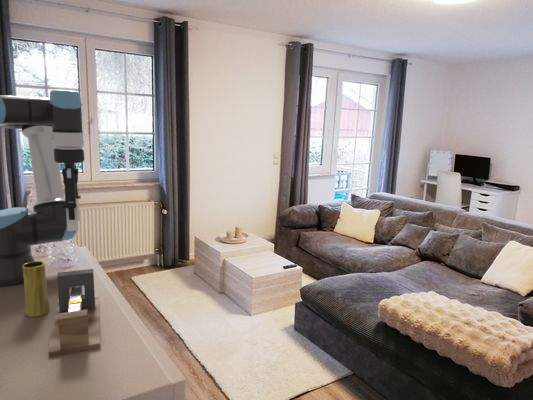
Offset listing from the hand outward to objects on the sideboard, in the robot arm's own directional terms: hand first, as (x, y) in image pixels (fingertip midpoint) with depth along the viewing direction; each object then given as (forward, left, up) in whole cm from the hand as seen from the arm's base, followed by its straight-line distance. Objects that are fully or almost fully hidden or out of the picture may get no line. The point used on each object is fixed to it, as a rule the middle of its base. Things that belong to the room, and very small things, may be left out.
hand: (73, 225), depth 114 cm
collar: (+7, 0, -22) cm, 23 cm away
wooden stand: (+14, 0, -24) cm, 27 cm away
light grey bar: (+14, 0, -19) cm, 23 cm away
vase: (+3, -10, -24) cm, 26 cm away
